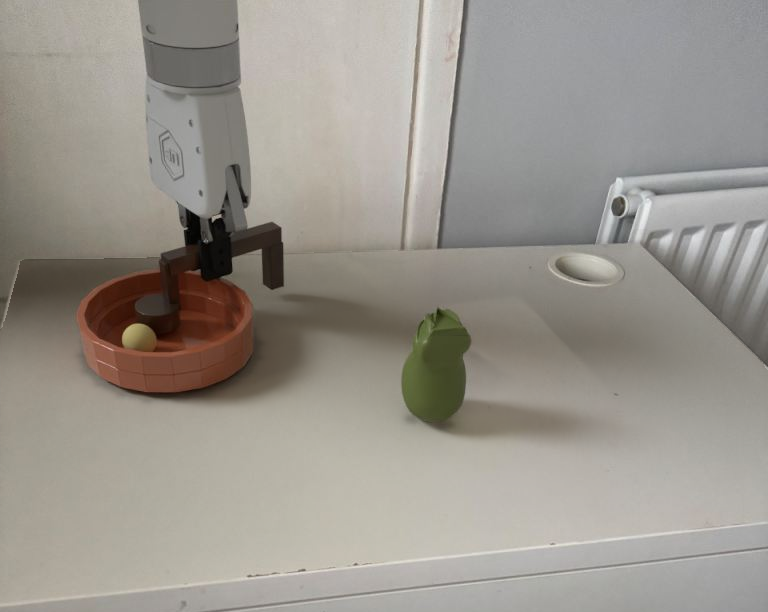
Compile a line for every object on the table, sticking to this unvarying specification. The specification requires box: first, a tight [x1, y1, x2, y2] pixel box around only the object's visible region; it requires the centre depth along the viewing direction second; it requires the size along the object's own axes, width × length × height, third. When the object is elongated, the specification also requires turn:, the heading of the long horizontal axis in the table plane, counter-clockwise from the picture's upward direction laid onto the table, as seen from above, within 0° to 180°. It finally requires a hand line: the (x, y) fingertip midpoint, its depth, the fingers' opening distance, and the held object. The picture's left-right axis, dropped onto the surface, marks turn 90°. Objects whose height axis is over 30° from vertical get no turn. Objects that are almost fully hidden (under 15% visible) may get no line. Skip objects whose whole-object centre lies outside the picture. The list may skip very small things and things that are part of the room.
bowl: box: [75, 268, 255, 393], centre depth 77 cm, size 15×15×4 cm
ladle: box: [135, 221, 285, 334], centre depth 80 cm, size 16×4×6 cm, turn 131°
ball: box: [122, 324, 157, 352], centre depth 75 cm, size 3×3×3 cm
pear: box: [400, 306, 472, 423], centre depth 70 cm, size 6×5×10 cm
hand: (210, 270), depth 80 cm, fingers closed on ladle
